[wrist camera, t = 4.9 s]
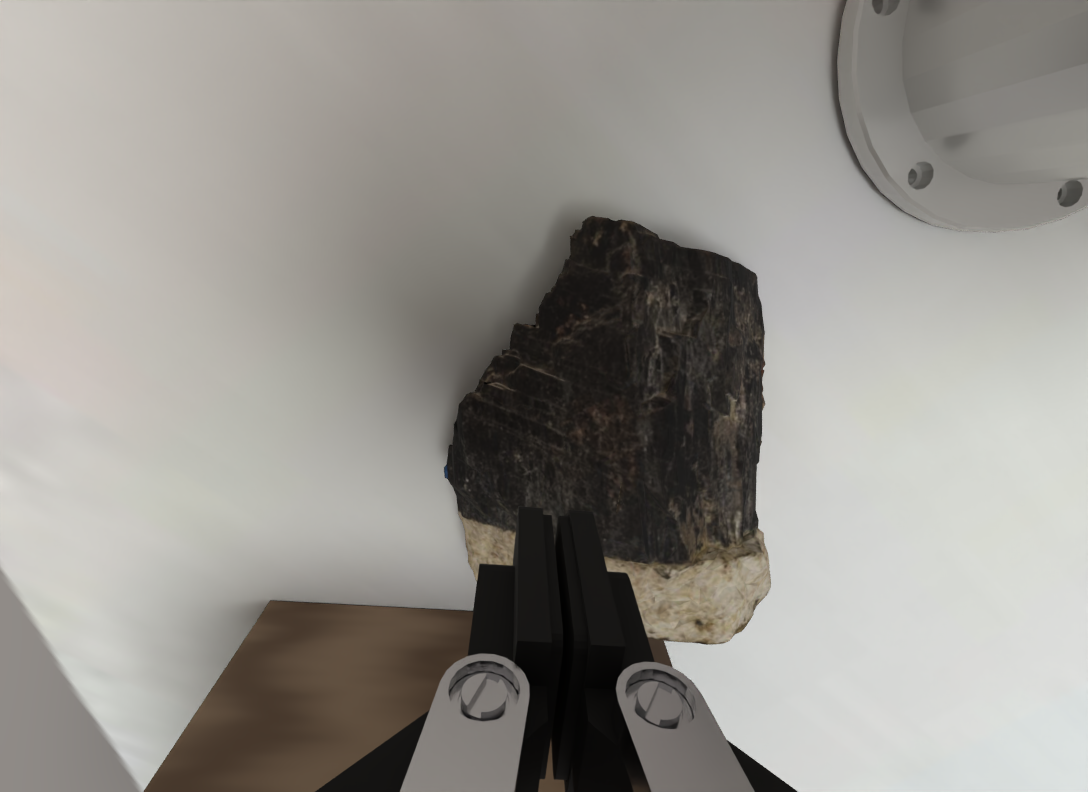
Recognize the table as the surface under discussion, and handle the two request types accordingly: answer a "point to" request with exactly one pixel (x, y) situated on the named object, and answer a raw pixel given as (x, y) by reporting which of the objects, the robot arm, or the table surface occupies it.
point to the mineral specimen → (631, 427)
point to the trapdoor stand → (319, 696)
